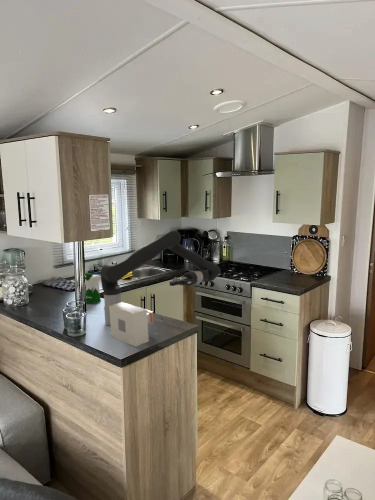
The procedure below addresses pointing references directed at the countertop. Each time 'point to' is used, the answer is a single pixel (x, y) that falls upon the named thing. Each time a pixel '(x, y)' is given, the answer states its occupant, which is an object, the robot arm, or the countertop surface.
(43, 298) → the countertop surface
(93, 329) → the countertop surface
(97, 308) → the countertop surface
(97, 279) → the milk carton
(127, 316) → the key box
